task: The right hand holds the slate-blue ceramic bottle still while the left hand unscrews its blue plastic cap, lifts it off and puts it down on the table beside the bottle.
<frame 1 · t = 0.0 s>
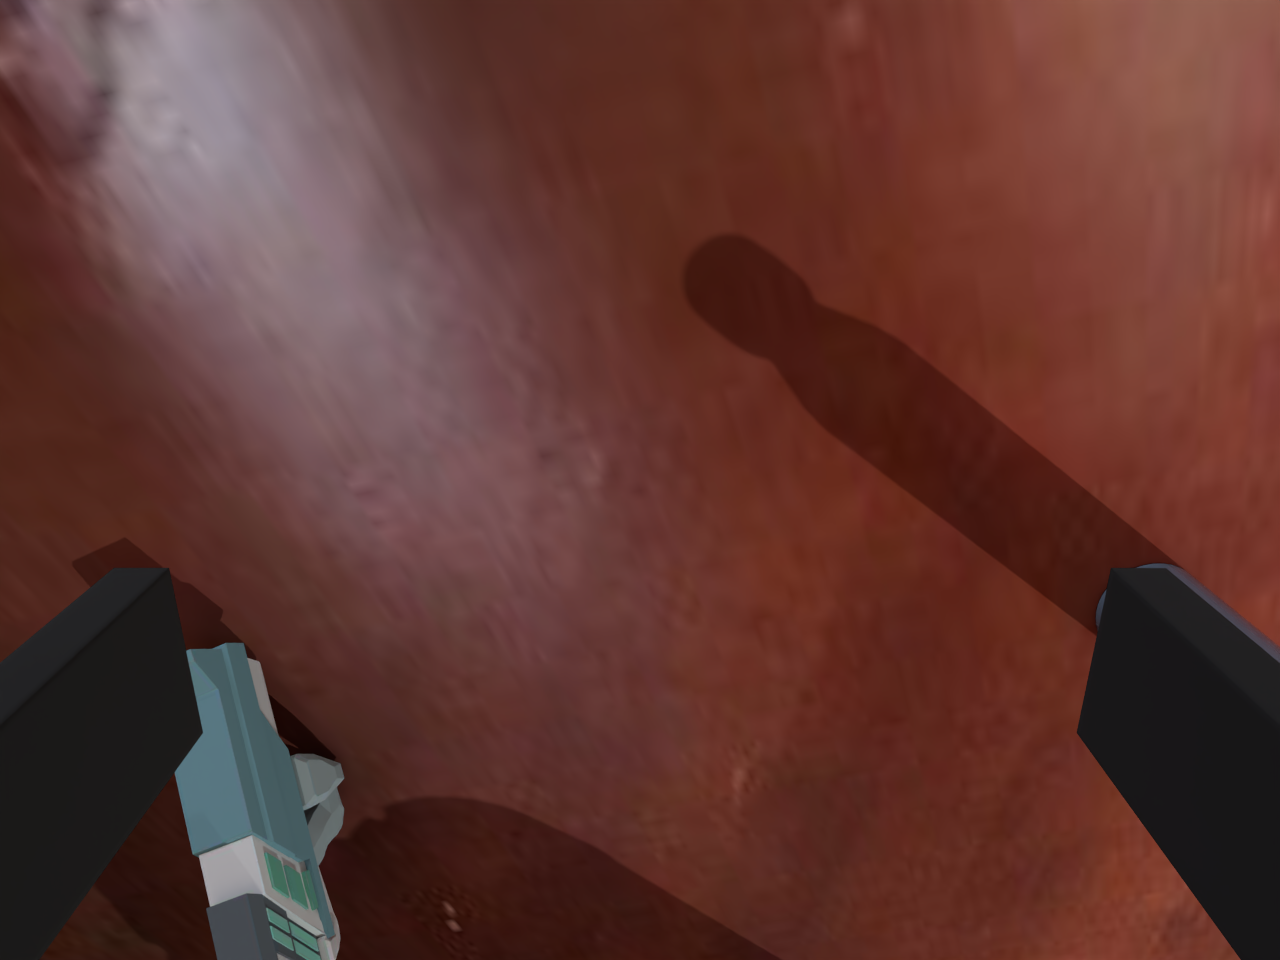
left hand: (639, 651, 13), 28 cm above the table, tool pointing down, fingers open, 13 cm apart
toy gun: (301, 748, 47), on the table
bottle: (1147, 609, 44), on the table
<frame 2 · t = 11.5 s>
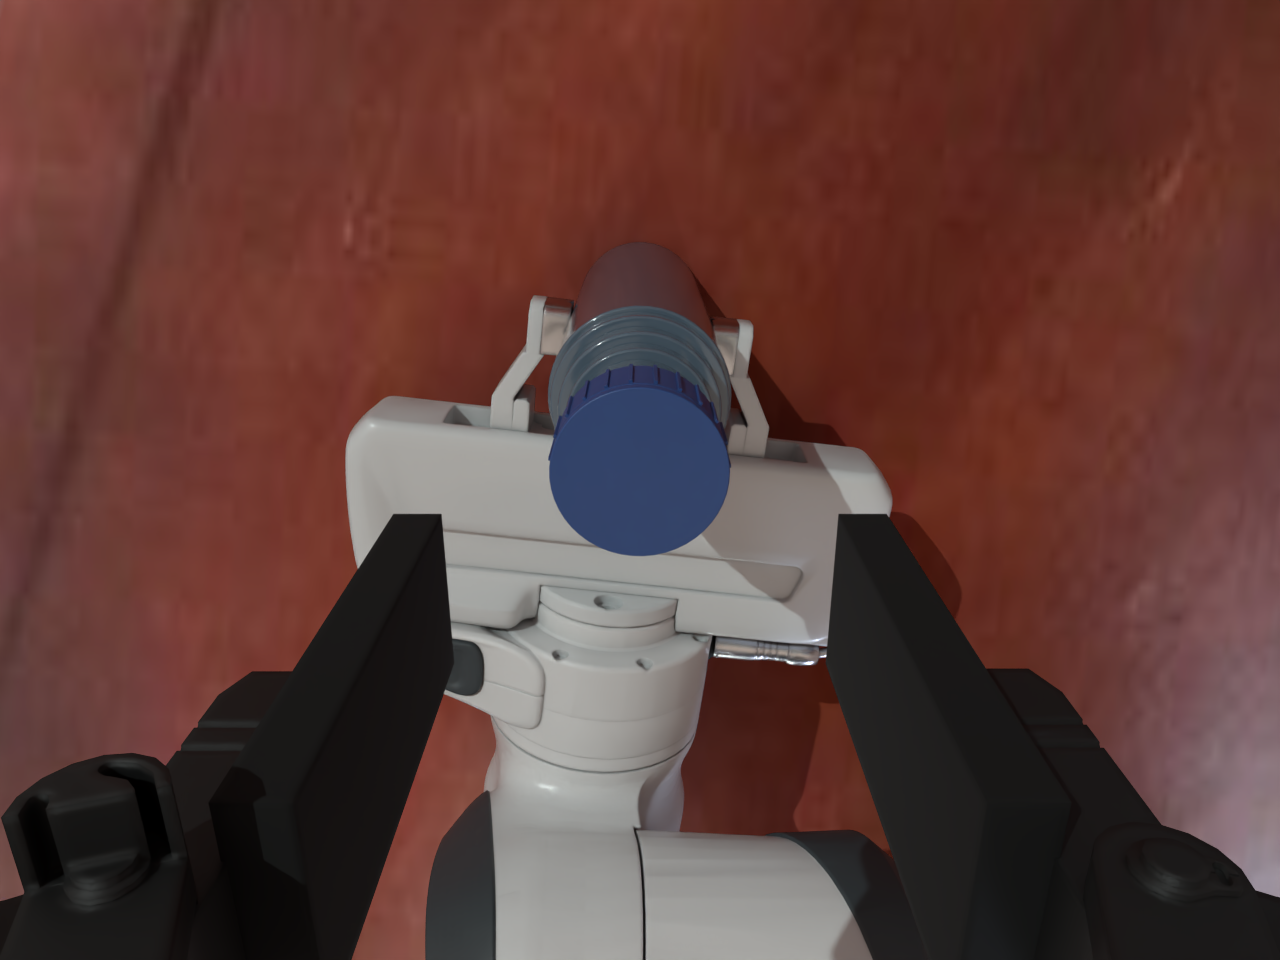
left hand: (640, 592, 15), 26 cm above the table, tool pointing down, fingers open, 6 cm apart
right hand: (641, 309, 32), fingers closed on bottle, 5 cm apart
cap: (639, 470, 20), point 20 cm above the table, screwed on, not yet turned
bottle: (639, 303, 39), on the table, touching right hand
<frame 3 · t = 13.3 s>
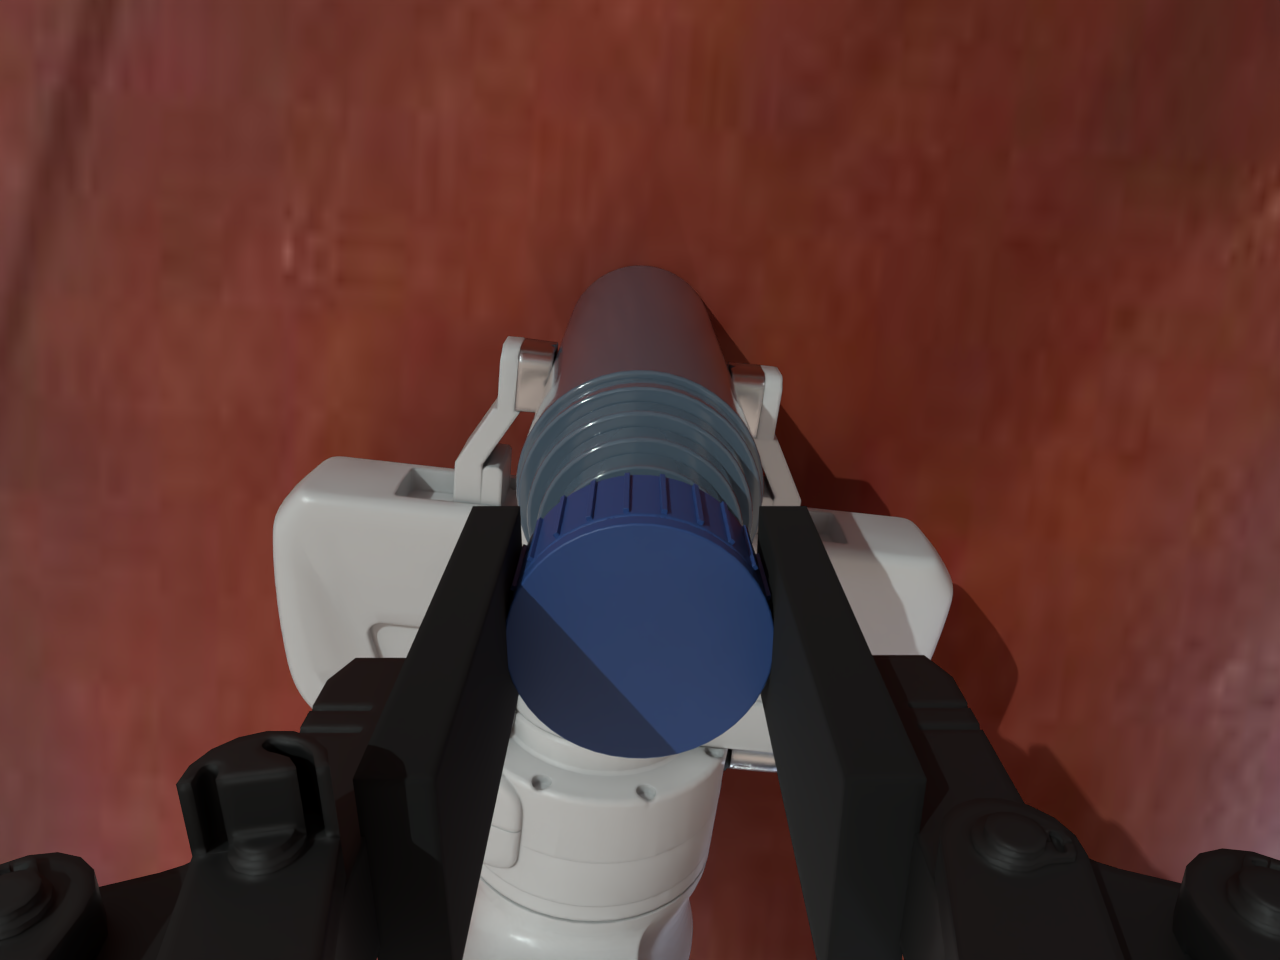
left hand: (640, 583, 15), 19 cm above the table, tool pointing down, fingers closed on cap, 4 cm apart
right hand: (642, 355, 26), fingers closed on bottle, 5 cm apart
cap: (639, 637, 13), point 20 cm above the table, screwed on, not yet turned, touching left hand
bottle: (640, 338, 32), on the table, touching right hand
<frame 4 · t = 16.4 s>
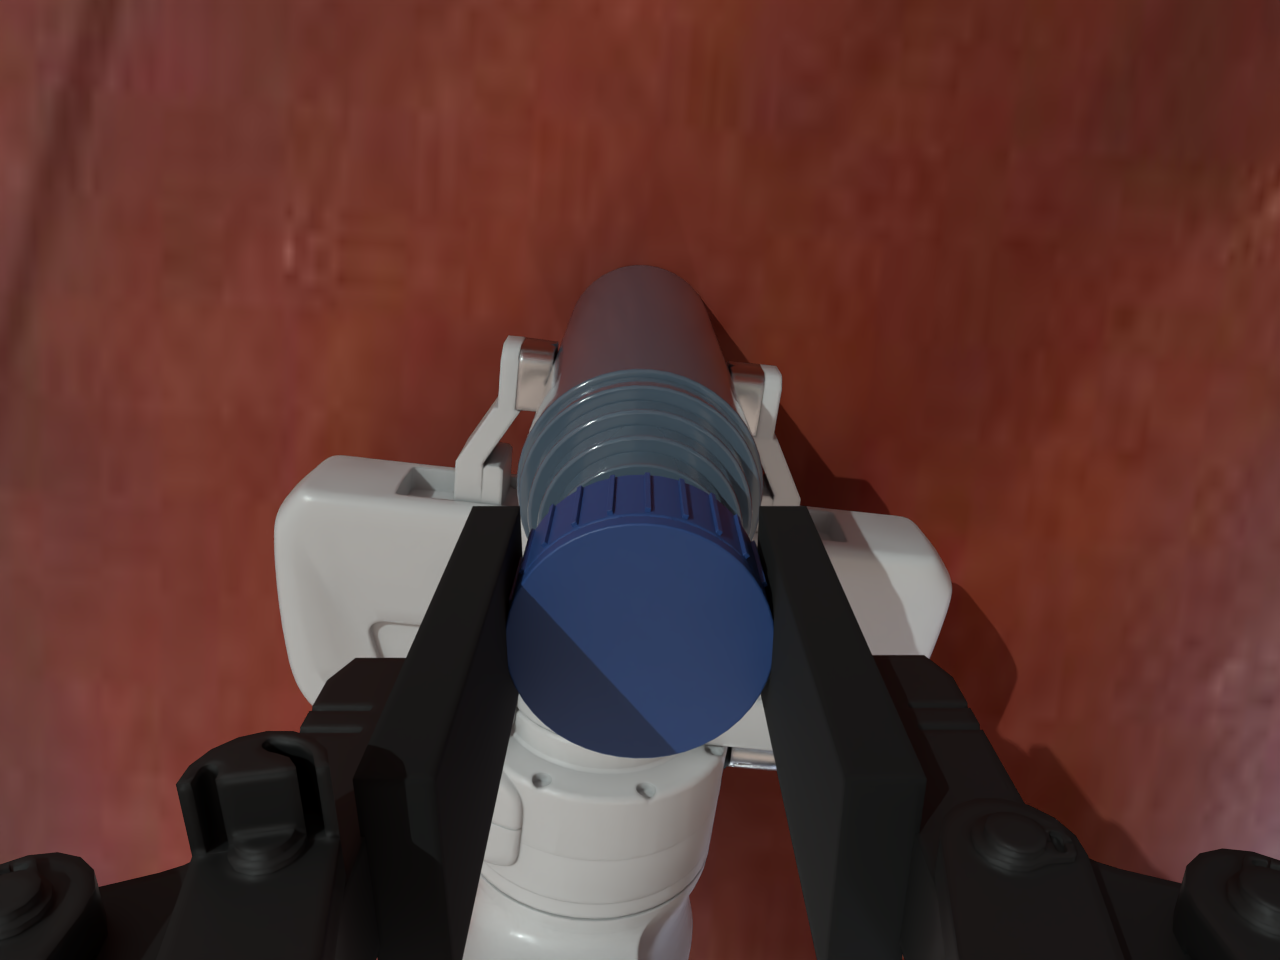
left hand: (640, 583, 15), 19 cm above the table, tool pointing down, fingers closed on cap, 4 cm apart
right hand: (642, 354, 26), fingers closed on bottle, 5 cm apart
cap: (639, 637, 13), point 20 cm above the table, turned 101° so far, risen 0.1 cm, still on its thread, touching left hand
bottle: (640, 337, 32), on the table, touching right hand
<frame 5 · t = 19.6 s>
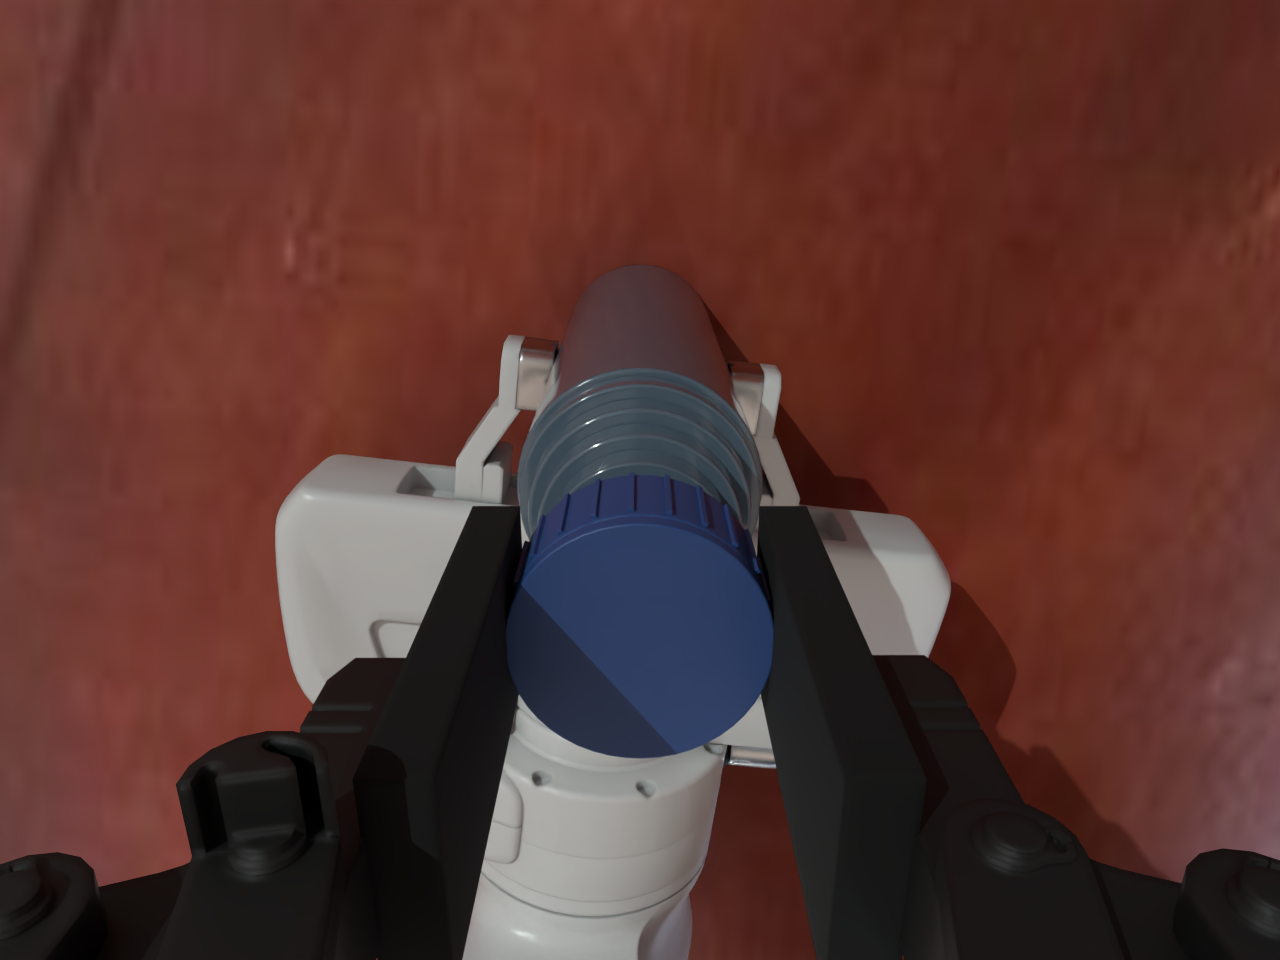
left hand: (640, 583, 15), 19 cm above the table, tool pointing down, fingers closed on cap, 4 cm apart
right hand: (642, 353, 26), fingers closed on bottle, 5 cm apart
cap: (639, 637, 13), point 20 cm above the table, turned 201° so far, risen 0.2 cm, still on its thread, touching left hand
bottle: (640, 337, 32), on the table, touching right hand
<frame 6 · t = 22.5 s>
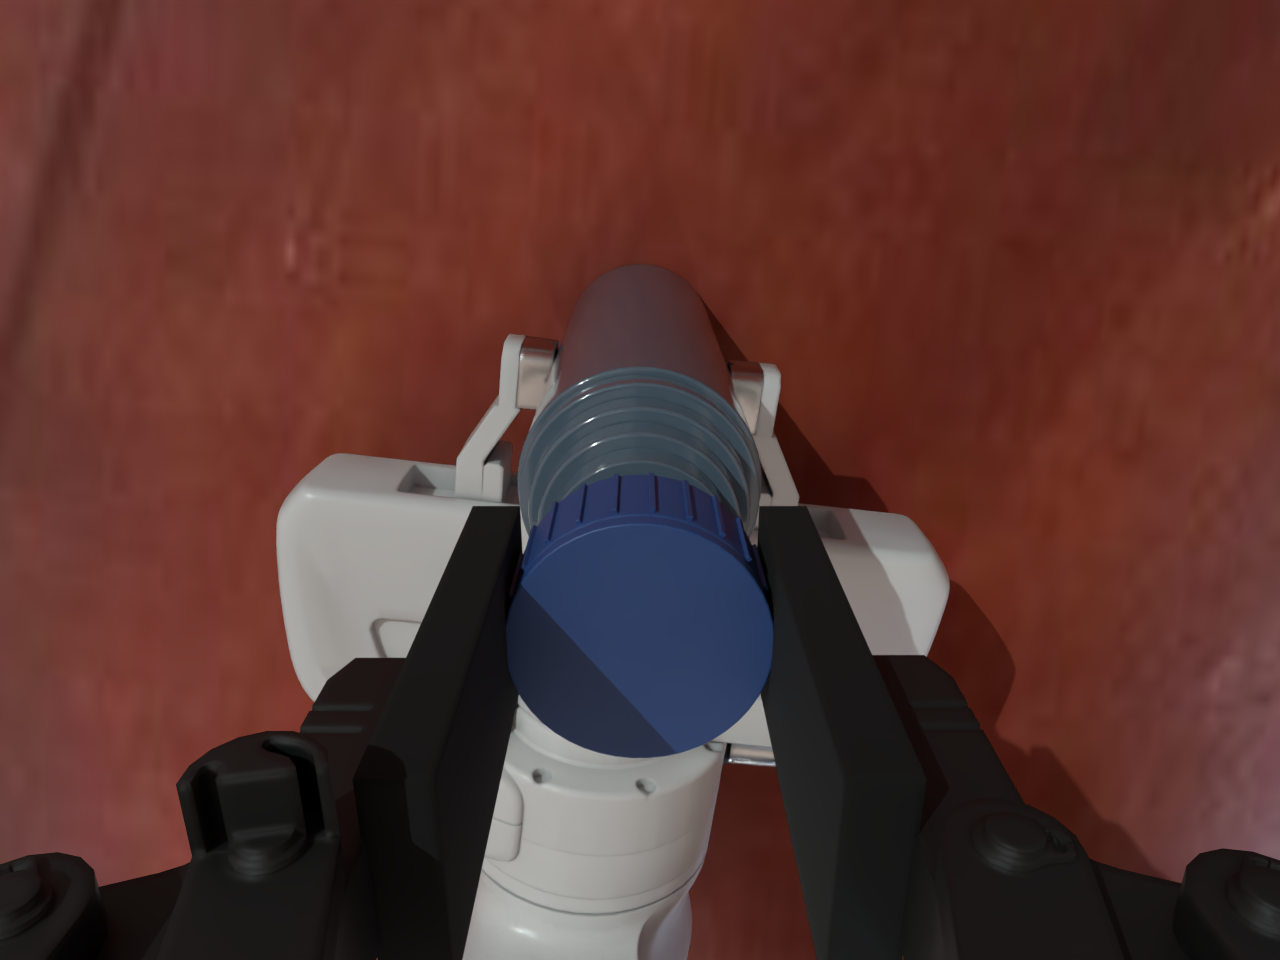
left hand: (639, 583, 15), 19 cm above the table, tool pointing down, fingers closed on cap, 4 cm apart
right hand: (641, 352, 26), fingers closed on bottle, 5 cm apart
cap: (639, 637, 13), point 21 cm above the table, turned 302° so far, risen 0.3 cm, still on its thread, touching left hand
bottle: (639, 336, 32), on the table, touching right hand
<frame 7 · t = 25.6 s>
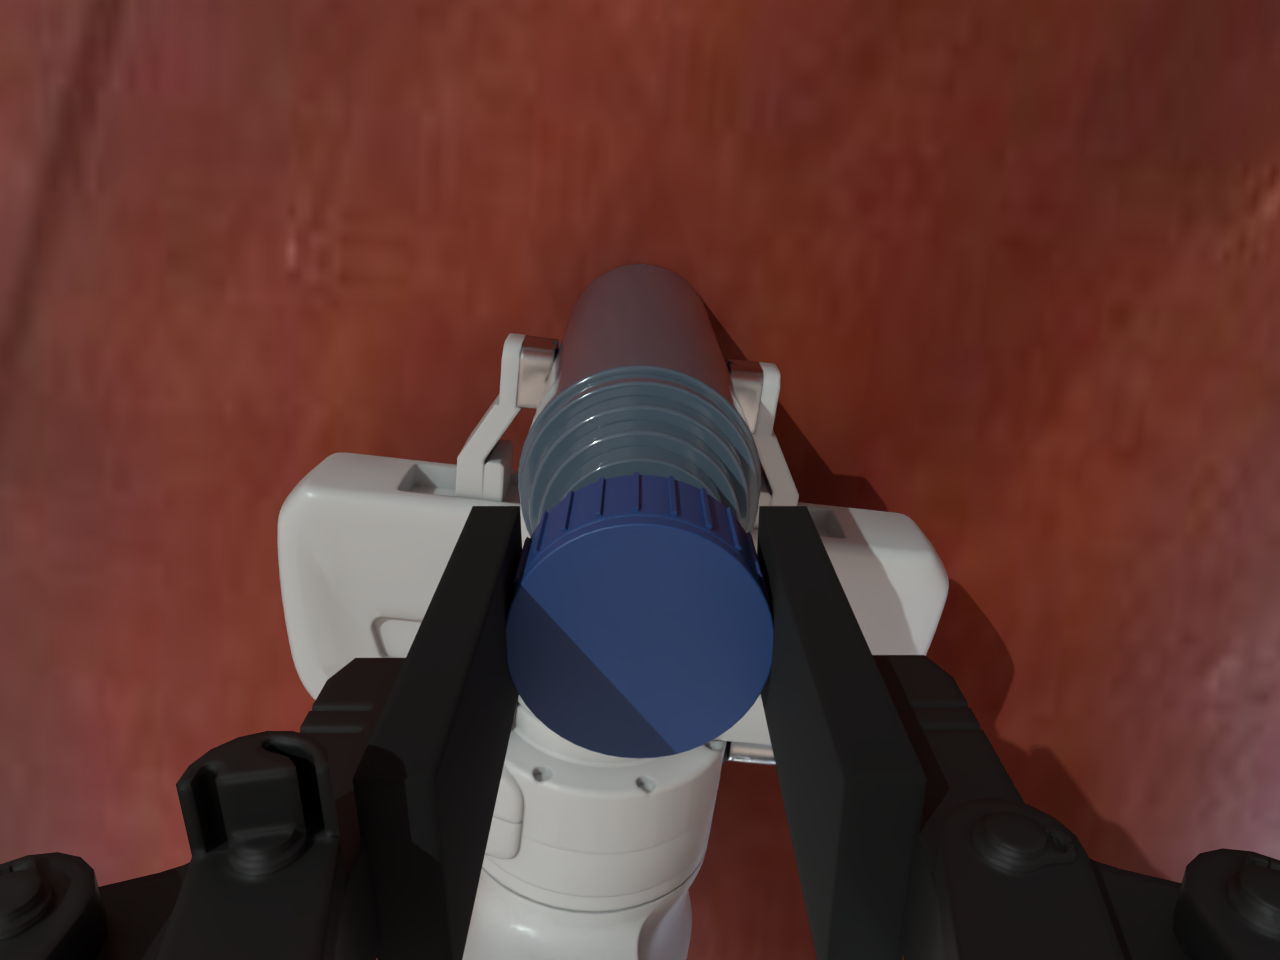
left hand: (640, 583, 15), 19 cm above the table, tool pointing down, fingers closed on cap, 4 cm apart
right hand: (641, 351, 26), fingers closed on bottle, 5 cm apart
cap: (639, 637, 13), point 21 cm above the table, turned 403° so far, risen 0.4 cm, still on its thread, touching left hand
bottle: (639, 335, 33), on the table, touching right hand
when the left hand's fingers open (2 cm above the table, at t = 33.2 s): cap drops 2 cm, point 2 cm above the table.
when the right hand's fingers open (6 cm above the table, at t = 34.5 s): bottle stays where it is, on the table.
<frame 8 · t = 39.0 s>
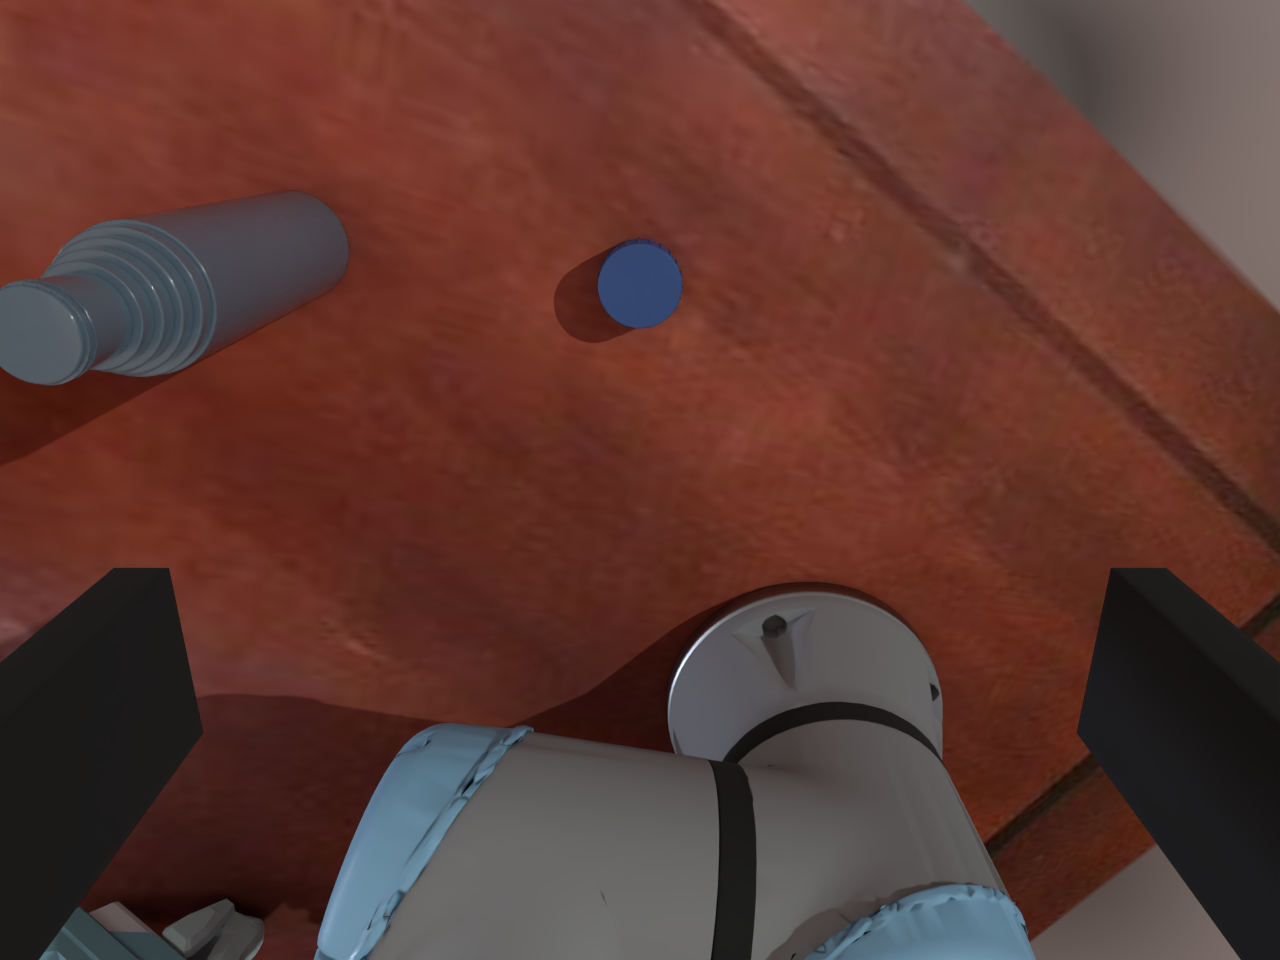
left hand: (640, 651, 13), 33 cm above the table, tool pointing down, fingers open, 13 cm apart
toy gun: (206, 913, 58), on the table
cap: (640, 285, 42), point 2 cm above the table, off its thread
bottle: (295, 246, 43), on the table
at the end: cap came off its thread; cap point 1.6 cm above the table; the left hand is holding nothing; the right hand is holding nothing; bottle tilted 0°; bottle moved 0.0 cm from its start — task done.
